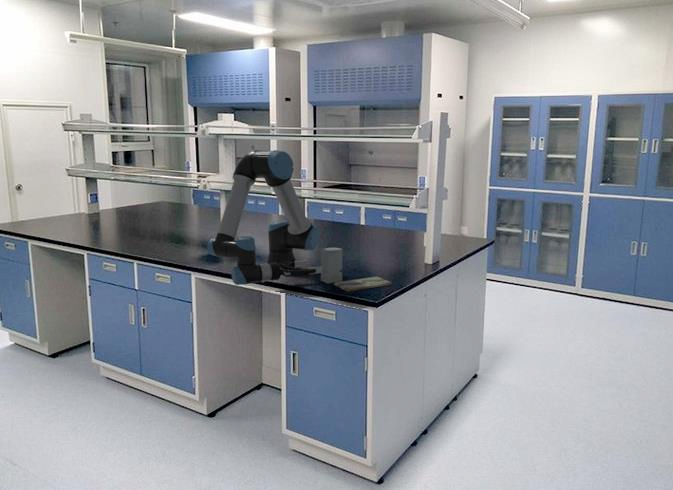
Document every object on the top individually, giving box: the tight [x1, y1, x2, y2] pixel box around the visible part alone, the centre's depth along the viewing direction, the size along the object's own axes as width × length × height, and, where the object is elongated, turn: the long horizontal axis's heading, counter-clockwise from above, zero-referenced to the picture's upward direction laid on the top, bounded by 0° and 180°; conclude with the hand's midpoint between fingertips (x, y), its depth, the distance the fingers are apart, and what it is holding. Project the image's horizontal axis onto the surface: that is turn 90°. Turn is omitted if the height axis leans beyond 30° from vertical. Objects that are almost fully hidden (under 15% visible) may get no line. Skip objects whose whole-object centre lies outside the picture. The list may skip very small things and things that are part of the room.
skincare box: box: [320, 247, 343, 284], centre depth 244 cm, size 8×6×15 cm
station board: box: [333, 275, 392, 292], centre depth 239 cm, size 12×22×1 cm, turn 118°
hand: (314, 266), depth 239 cm, fingers open, 13 cm apart
